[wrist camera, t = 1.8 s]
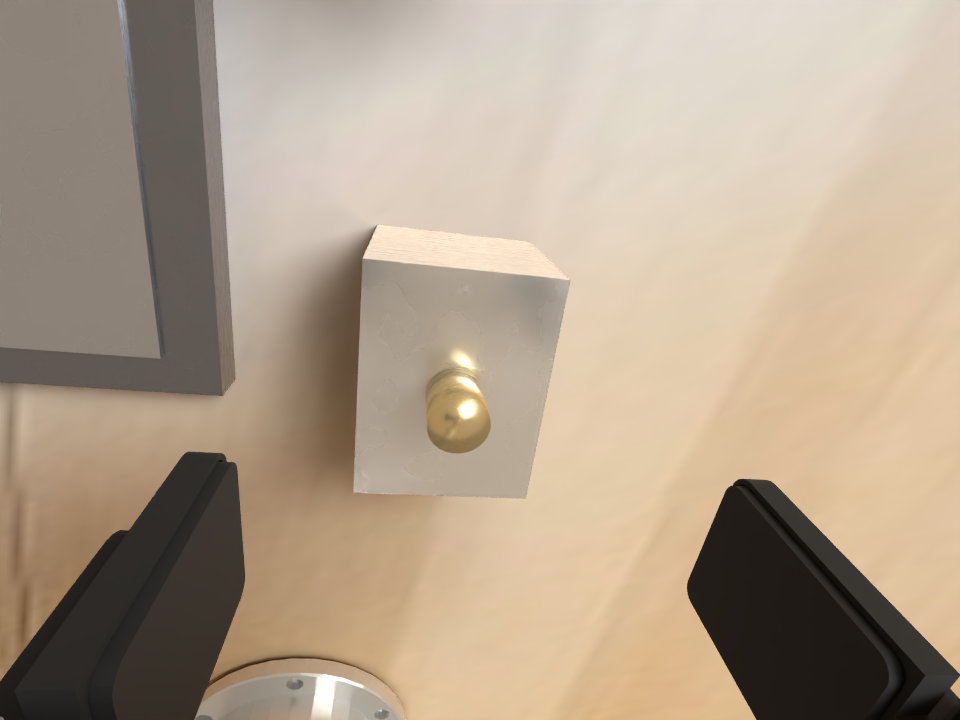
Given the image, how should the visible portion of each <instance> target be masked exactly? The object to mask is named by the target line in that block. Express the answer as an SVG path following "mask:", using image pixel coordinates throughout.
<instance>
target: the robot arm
mask: <svg viewBox="0 0 960 720" xmlns="http://www.w3.org/2000/svg"><path fill="white" fill-rule="evenodd" d="M244 582H245V568H244V554H243V541H242V528H241V514H240V501H239V488H238V474H237V466H236V464H235V463H234V462H227V461H226V457H225V455H224V454H222V453H204V452H187V453H185V454H184V455H183V456H182V457H181V459H180V460H179V462H178V463H177V464H176V466H175V467H174V469H173V470H172V471H171V473H170V474H169V476H168V477H167V478H166V480H165V481H164V483H163V484H162V485H161V487H160V488H159V490H158V491H157V492H156V494H155V495H154V497H153V498H152V499H151V501H150V502H149V503H148V505H147V506H146V508H145V509H144V510H143V512H142V513H141V515H140V516H139V517H138V519H137V520H136V522H135V523H134V524H133V526H132V527H131V529H130V530H129V531H125V530H120V531H118V532H116V533H114V534H112V536H111V537H110V538H109V539H108V540H107V541H106V542H105V543H104V545H103V546H102V547H101V549H100V550H99V551H98V552H97V554H96V555H95V556H94V558H93V559H92V560H91V562H90V563H89V564H88V566H87V567H86V568H85V570H84V571H83V572H82V574H81V575H80V576H79V578H78V579H77V580H76V582H75V583H74V584H73V586H72V587H71V588H70V590H69V591H68V592H67V594H66V595H65V596H64V598H63V599H62V600H61V602H60V603H59V604H58V606H57V607H56V608H55V610H54V611H53V612H52V614H51V615H50V616H49V618H48V619H47V620H46V621H45V623H44V624H43V625H42V627H41V628H40V629H39V631H38V632H37V633H36V635H35V636H34V637H33V639H32V640H31V641H30V643H29V644H28V645H27V647H26V648H25V649H24V651H23V652H22V653H21V655H20V656H19V657H18V659H17V660H16V661H15V663H14V664H13V665H12V667H11V668H10V669H9V671H8V672H7V673H6V675H5V676H4V677H3V679H2V680H1V681H0V720H405V714H404V709H403V707H402V705H401V703H400V701H399V699H398V697H397V696H396V695H395V694H394V693H393V691H392V690H391V689H390V688H389V687H388V686H387V685H386V684H384V683H383V682H381V681H380V680H379V679H377V678H376V677H374V676H373V675H371V674H369V673H367V672H365V671H363V670H360V669H358V668H356V667H353V666H349V665H346V664H343V663H339V662H335V661H328V660H321V659H308V658H291V659H281V660H272V661H267V662H263V663H259V664H255V665H251V666H248V667H245V668H243V669H240V670H238V671H235V672H233V673H230V674H228V675H226V676H225V677H223V678H221V679H220V680H218V681H216V682H215V683H213V684H212V685H210V686H209V687H208V688H207V685H208V683H209V680H210V677H211V675H212V672H213V670H214V667H215V664H216V662H217V659H218V656H219V654H220V651H221V649H222V646H223V643H224V641H225V638H226V635H227V633H228V630H229V628H230V625H231V622H232V620H233V617H234V614H235V612H236V609H237V607H238V604H239V601H240V599H241V596H242V592H243V588H244ZM687 592H688V596H689V599H690V601H691V603H692V605H693V607H694V609H695V611H696V612H697V614H698V616H699V618H700V619H701V621H702V623H703V625H704V627H705V628H706V630H707V632H708V634H709V636H710V637H711V639H712V641H713V643H714V645H715V646H716V648H717V650H718V652H719V653H720V655H721V657H722V659H723V661H724V662H725V664H726V666H727V668H728V670H729V671H730V673H731V675H732V677H733V678H734V680H735V682H736V684H737V686H738V687H739V689H740V691H741V693H742V695H743V696H744V698H745V700H746V702H747V704H748V705H749V707H750V709H751V711H752V712H753V714H754V716H755V718H756V720H960V699H959V698H958V697H957V696H956V695H955V693H954V692H953V691H952V690H951V689H950V687H951V686H952V685H953V684H954V683H955V681H956V680H957V679H958V678H959V676H960V674H959V673H958V672H957V671H956V670H955V669H954V668H953V667H952V666H951V665H950V664H949V663H948V662H947V661H946V660H945V659H944V658H943V657H942V655H941V654H940V653H939V652H938V651H937V650H936V649H935V648H934V647H933V646H932V645H931V644H930V643H929V642H928V641H927V640H926V639H925V638H924V637H923V636H922V635H921V634H920V633H919V632H918V631H917V630H916V629H915V628H914V627H913V626H912V625H911V624H910V623H909V622H908V621H907V620H906V618H905V617H904V616H903V615H902V614H901V613H900V612H899V611H898V610H897V609H896V608H895V607H894V606H893V605H892V604H891V603H890V602H889V601H888V600H887V599H886V598H885V597H884V596H883V595H882V594H881V593H880V592H879V591H878V590H877V589H876V588H875V587H874V586H873V585H872V584H871V583H870V581H869V580H868V579H867V578H866V577H865V576H864V575H863V574H862V573H861V572H860V571H859V570H858V569H857V568H856V567H855V566H854V565H853V564H852V563H851V562H850V561H849V560H848V559H847V558H846V557H845V556H844V555H843V554H842V553H841V552H840V551H839V550H838V549H837V548H836V547H835V546H834V544H833V543H832V542H831V541H830V540H829V539H828V538H827V537H826V536H825V535H824V534H823V533H822V532H821V531H820V530H819V529H818V528H817V527H816V526H815V525H814V524H813V523H812V522H811V521H810V520H809V519H808V518H807V517H806V516H805V515H804V514H803V513H802V512H801V511H800V510H799V509H798V507H797V506H796V505H795V504H794V503H793V502H792V501H791V500H790V499H789V498H788V497H787V496H786V495H785V494H784V493H783V492H782V491H781V490H780V489H779V488H778V487H777V486H776V485H775V484H774V483H772V482H771V481H768V480H755V479H739V480H737V481H736V482H735V483H734V484H733V486H730V487H729V488H728V489H727V490H726V492H725V494H724V497H723V499H722V501H721V504H720V506H719V508H718V511H717V513H716V516H715V518H714V520H713V523H712V525H711V528H710V530H709V532H708V535H707V537H706V539H705V542H704V544H703V547H702V549H701V551H700V554H699V556H698V558H697V561H696V563H695V566H694V568H693V570H692V573H691V575H690V577H689V580H688V583H687ZM206 688H207V689H206Z"/></svg>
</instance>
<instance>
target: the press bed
mask: <svg viewBox="0 0 960 720" xmlns="http://www.w3.org/2000/svg"><path fill="white" fill-rule="evenodd" d="M234 380H235V367H234V350H233V333H232V317H231V300H230V283H229V267H228V250H227V234H226V217H225V200H224V184H223V167H222V150H221V134H220V117H219V101H218V84H217V67H216V51H215V34H214V17H213V1H212V0H0V382H10V383H27V384H43V385H59V386H75V387H91V388H107V389H123V390H139V391H155V392H171V393H187V394H203V395H219V396H223V395H224V393H225V392H226V391H227V389H228V388H229V387H230V385H231V384H232V383H233V381H234Z"/></svg>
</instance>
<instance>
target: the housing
mask: <svg viewBox="0 0 960 720" xmlns="http://www.w3.org/2000/svg"><path fill="white" fill-rule="evenodd" d="M569 284H570V279H569V278H568V277H567V276H566V275H565V274H564V273H563V272H561V271H560V270H559V269H558V268H557V267H556V266H555V265H554V264H553V263H552V262H551V261H550V260H549V259H548V258H547V257H546V256H544V255H543V254H542V253H541V252H540V251H539V250H538V249H537V248H536V247H535V246H534V245H533V244H532V243H531V242H527V241H518V240H509V239H500V238H492V237H483V236H474V235H465V234H456V233H447V232H439V231H430V230H421V229H412V228H403V227H394V226H386V225H377V228H376V230H375V232H374V234H373V236H372V239H371V241H370V243H369V245H368V247H367V250H366V252H365V254H364V256H363V258H362V283H361V308H360V334H359V359H358V384H357V410H356V435H355V461H354V486H353V493H370V494H401V495H431V496H462V497H492V498H523V499H526V495H527V490H528V485H529V480H530V475H531V470H532V465H533V460H534V456H535V451H536V446H537V441H538V436H539V431H540V426H541V421H542V416H543V411H544V406H545V401H546V397H547V392H548V387H549V382H550V377H551V372H552V367H553V362H554V357H555V352H556V347H557V343H558V338H559V333H560V328H561V323H562V318H563V313H564V308H565V303H566V298H567V293H568V288H569Z"/></svg>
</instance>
